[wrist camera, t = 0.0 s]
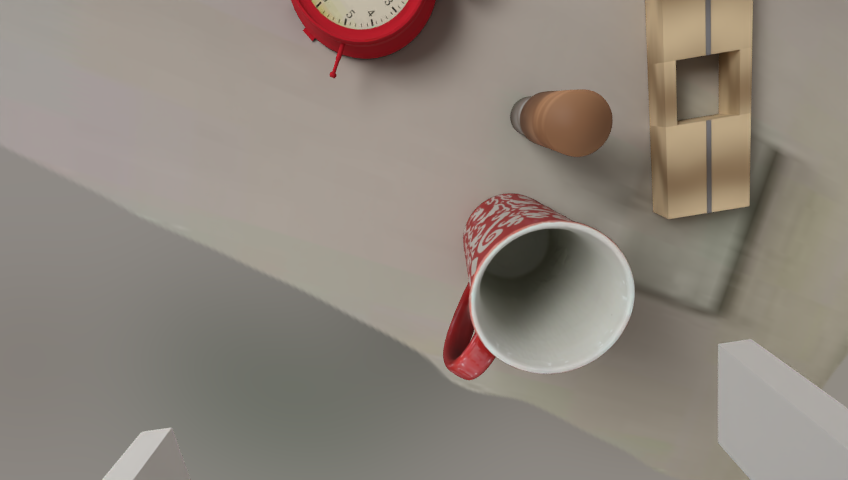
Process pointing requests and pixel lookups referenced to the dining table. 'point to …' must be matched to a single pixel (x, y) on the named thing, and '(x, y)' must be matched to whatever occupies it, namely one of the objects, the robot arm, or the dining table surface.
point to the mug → (536, 291)
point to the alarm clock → (363, 25)
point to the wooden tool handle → (564, 120)
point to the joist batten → (709, 135)
